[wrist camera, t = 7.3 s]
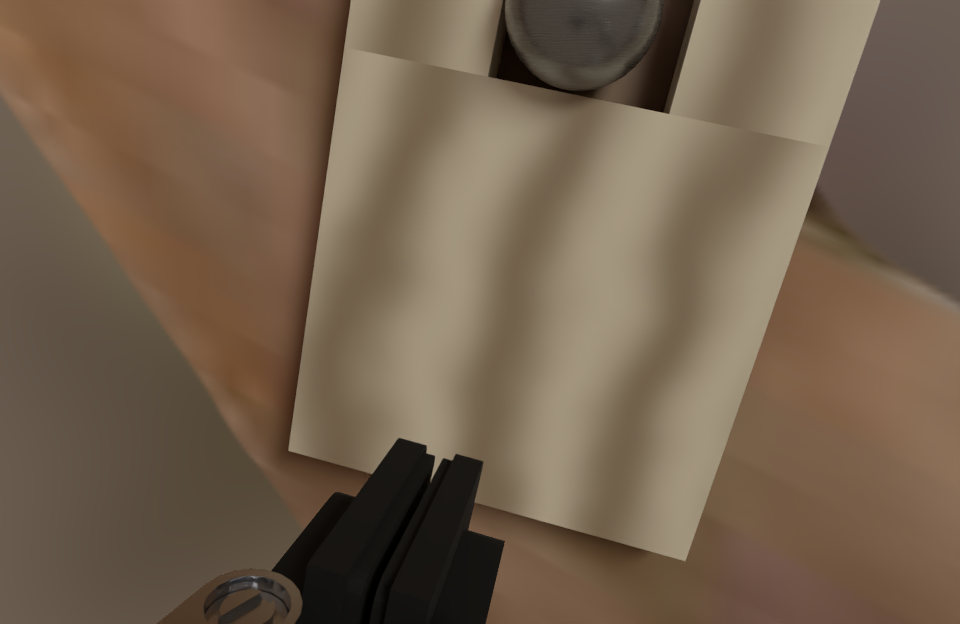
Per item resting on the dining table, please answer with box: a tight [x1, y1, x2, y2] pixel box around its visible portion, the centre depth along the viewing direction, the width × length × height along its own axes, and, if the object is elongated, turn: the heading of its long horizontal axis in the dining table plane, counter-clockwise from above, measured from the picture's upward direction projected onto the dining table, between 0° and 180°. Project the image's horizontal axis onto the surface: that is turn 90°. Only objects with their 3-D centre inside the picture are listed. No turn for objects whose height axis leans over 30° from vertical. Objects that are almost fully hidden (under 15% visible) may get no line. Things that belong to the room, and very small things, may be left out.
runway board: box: [288, 0, 880, 561], centre depth 27 cm, size 20×30×2 cm, turn 168°
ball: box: [505, 0, 663, 91], centre depth 24 cm, size 6×6×6 cm
